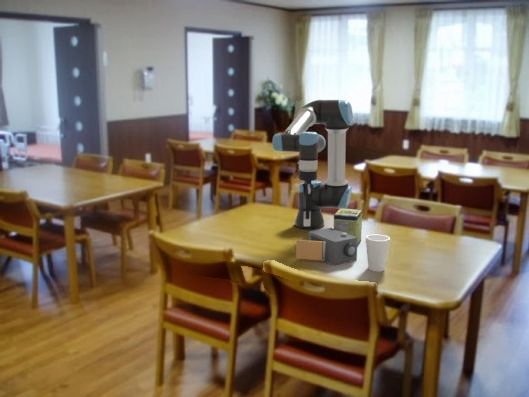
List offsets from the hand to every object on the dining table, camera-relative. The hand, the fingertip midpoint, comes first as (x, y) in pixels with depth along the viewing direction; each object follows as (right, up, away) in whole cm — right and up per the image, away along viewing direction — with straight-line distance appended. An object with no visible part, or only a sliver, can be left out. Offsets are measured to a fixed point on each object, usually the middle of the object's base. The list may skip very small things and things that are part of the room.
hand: (306, 225), depth 226 cm
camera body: (+11, -14, +5) cm, 18 cm away
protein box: (+20, -10, +23) cm, 32 cm away
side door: (+2, -14, -1) cm, 14 cm away
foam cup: (+27, -17, -9) cm, 33 cm away
